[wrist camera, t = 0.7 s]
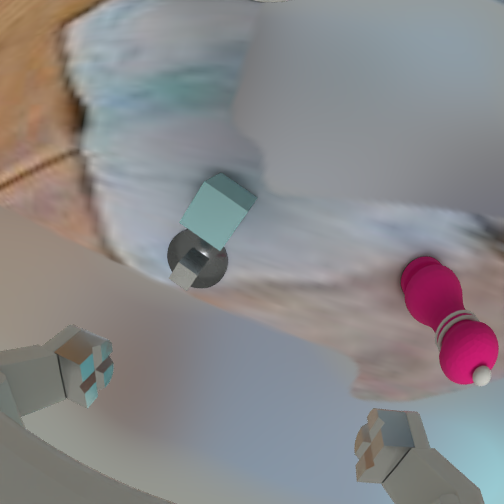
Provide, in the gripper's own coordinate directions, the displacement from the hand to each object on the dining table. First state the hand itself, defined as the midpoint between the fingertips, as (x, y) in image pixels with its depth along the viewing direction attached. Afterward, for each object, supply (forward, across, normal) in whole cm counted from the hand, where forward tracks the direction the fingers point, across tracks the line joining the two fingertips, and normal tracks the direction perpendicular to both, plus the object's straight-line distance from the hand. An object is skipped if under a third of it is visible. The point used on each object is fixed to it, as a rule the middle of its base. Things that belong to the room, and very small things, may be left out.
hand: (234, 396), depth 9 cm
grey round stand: (+31, +10, +8) cm, 34 cm away
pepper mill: (+32, -19, +4) cm, 37 cm away
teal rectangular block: (+30, +8, 0) cm, 31 cm away
